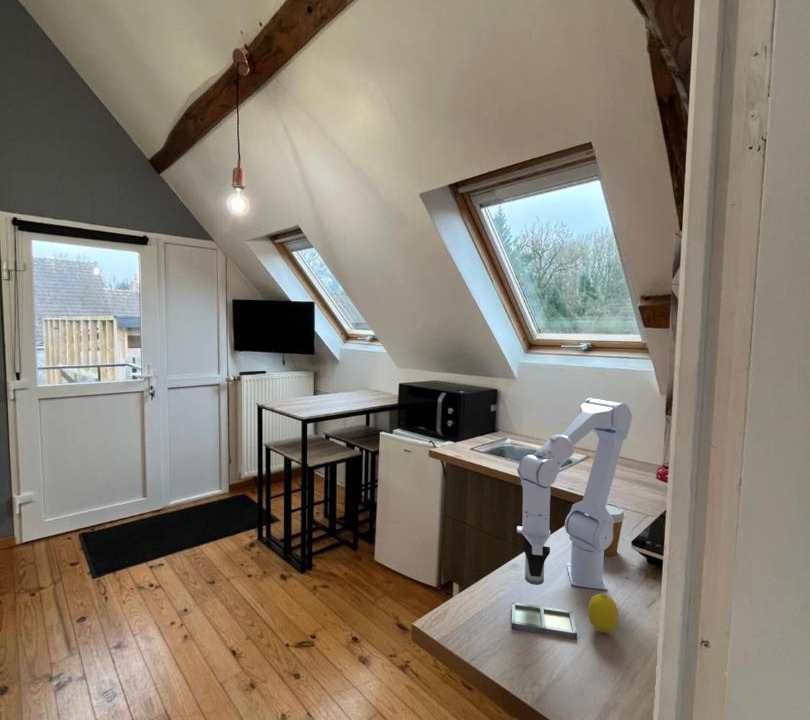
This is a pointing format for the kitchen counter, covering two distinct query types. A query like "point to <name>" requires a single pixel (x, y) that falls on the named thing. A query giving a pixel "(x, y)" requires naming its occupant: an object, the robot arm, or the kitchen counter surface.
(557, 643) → the kitchen counter surface
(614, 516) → the disposable coffee cup
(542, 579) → the cell
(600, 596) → the lemon
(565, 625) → the checker tray
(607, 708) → the kitchen counter surface
